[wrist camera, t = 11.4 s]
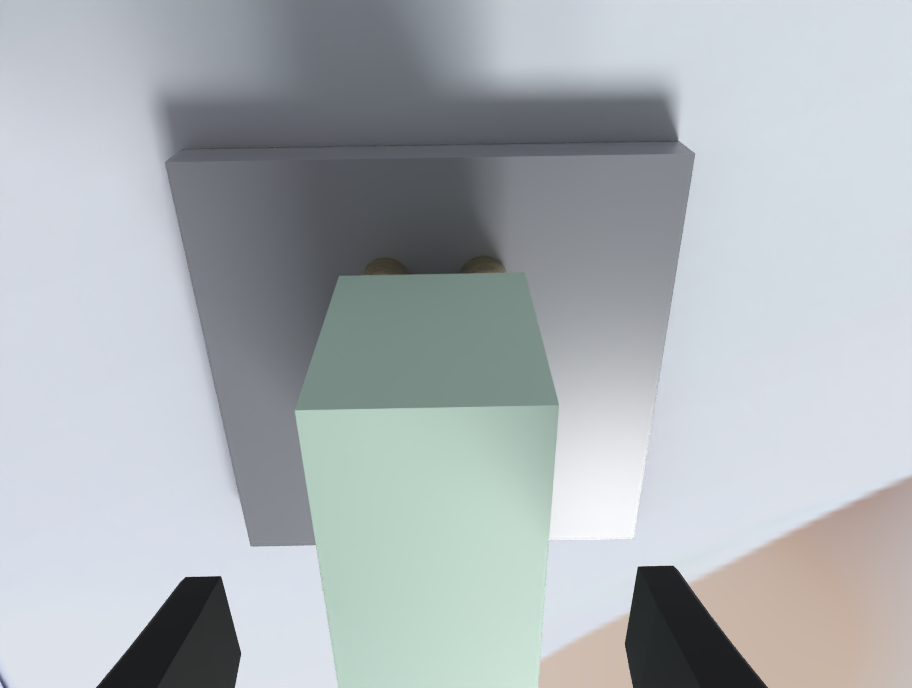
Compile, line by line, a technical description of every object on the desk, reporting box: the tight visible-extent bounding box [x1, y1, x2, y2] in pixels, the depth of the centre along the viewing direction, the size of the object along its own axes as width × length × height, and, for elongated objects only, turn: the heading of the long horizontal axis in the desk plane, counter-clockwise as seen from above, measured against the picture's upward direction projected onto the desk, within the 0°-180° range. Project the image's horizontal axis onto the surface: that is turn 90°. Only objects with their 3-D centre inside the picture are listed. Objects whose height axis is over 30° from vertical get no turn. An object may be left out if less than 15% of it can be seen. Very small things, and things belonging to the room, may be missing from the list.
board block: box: [295, 273, 559, 688], centre depth 14 cm, size 8×4×5 cm, turn 1°
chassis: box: [165, 141, 695, 546], centre depth 18 cm, size 12×12×3 cm
